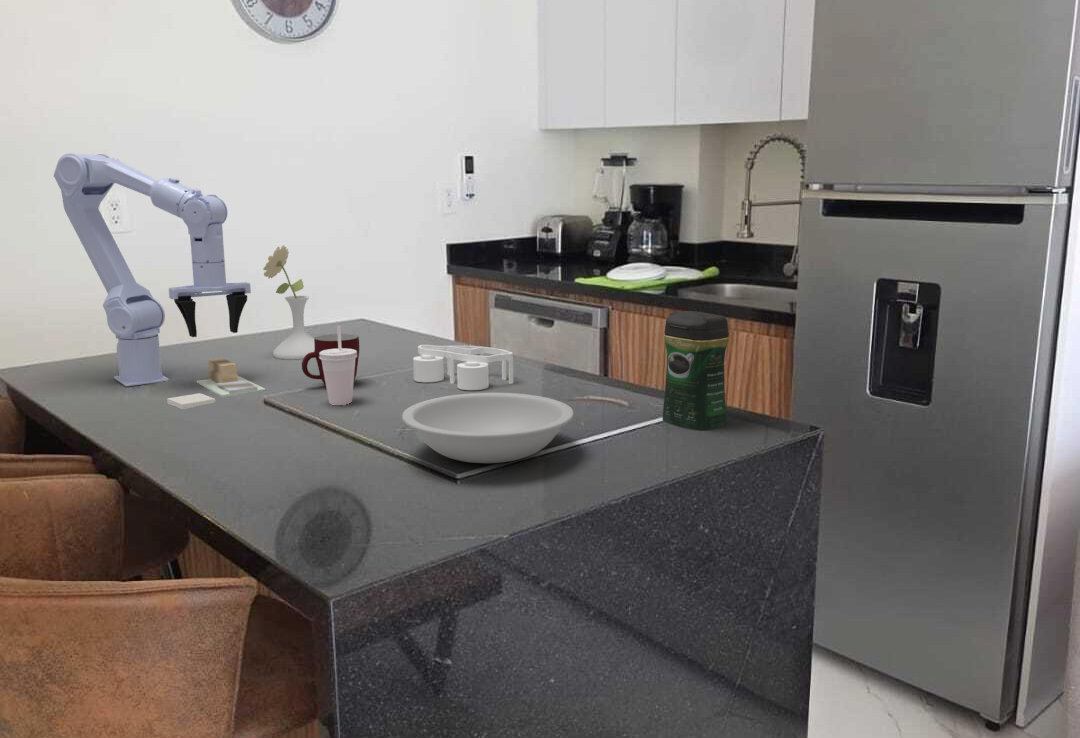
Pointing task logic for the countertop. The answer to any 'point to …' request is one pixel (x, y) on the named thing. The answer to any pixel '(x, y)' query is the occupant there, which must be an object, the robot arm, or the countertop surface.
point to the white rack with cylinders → (460, 365)
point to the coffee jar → (695, 370)
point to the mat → (213, 387)
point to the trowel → (227, 376)
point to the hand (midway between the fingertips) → (213, 334)
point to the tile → (190, 401)
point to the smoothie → (339, 372)
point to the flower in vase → (299, 339)
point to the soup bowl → (488, 425)
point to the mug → (330, 343)
